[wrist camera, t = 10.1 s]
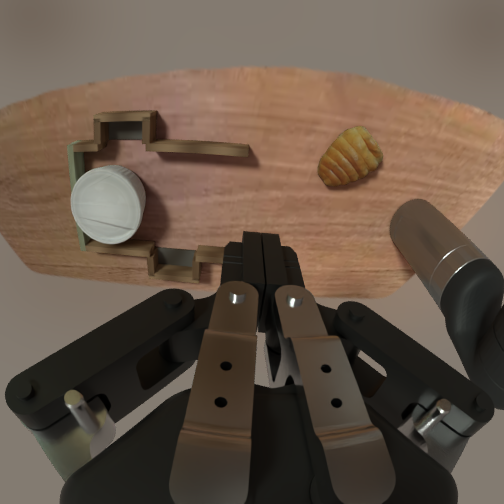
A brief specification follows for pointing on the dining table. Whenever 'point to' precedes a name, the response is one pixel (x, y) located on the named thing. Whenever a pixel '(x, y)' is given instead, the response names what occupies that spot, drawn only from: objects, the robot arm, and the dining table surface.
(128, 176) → the ramekin
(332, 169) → the pastry
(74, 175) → the box
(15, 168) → the dining table surface
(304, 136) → the dining table surface
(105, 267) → the dining table surface
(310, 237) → the dining table surface
